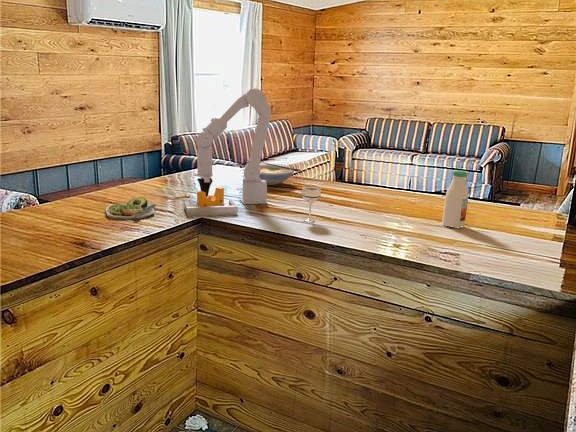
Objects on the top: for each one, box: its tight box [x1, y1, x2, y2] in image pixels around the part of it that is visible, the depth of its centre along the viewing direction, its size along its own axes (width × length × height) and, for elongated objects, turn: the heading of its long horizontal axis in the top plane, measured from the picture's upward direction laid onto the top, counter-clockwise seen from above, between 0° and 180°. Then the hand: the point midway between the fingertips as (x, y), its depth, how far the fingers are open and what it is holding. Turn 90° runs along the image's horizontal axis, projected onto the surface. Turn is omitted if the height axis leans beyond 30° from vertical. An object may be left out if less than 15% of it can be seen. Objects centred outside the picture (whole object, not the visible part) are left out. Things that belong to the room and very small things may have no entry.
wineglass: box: [301, 185, 322, 221], centre depth 186 cm, size 7×7×12 cm
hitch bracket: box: [183, 199, 239, 217], centre depth 193 cm, size 18×12×3 cm, turn 106°
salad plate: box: [105, 196, 157, 221], centre depth 185 cm, size 19×18×5 cm
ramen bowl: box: [259, 162, 302, 186], centre depth 243 cm, size 25×23×8 cm
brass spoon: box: [173, 194, 191, 200], centre depth 212 cm, size 6×2×1 cm, turn 126°
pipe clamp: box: [196, 186, 225, 207], centre depth 201 cm, size 12×4×6 cm, turn 145°
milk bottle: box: [442, 169, 469, 227], centre depth 186 cm, size 8×8×20 cm
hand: (204, 196), depth 209 cm, fingers closed
